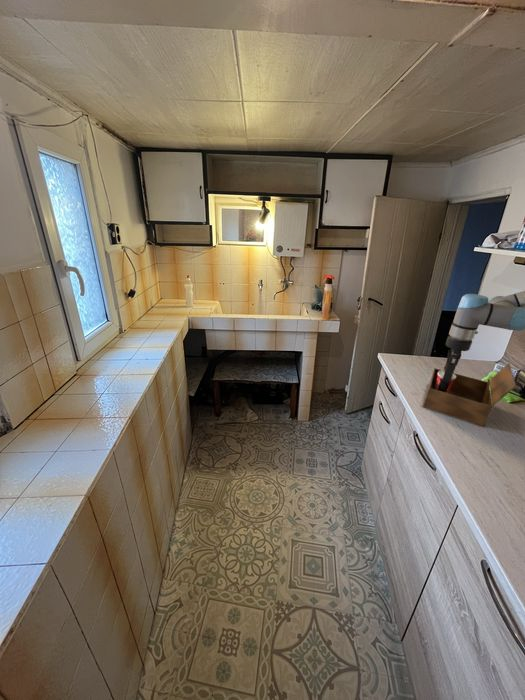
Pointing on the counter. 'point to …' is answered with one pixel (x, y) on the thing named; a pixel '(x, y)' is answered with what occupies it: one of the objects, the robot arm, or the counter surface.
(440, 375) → the beverage cup
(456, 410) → the brown open-topped box
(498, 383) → the flap
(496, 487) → the counter surface
